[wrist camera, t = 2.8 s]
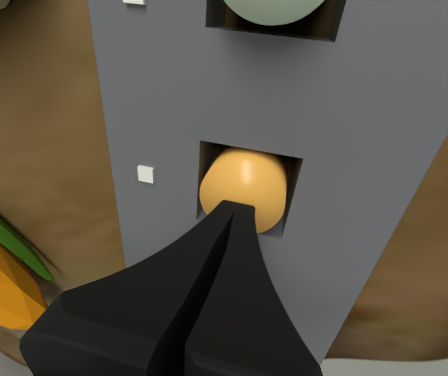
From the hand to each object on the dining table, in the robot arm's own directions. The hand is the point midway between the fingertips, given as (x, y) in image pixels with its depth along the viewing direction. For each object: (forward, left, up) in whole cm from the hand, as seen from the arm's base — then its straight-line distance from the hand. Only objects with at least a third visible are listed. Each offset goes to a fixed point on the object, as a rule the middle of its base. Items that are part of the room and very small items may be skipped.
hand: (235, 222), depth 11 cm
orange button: (0, 0, -5) cm, 5 cm away
